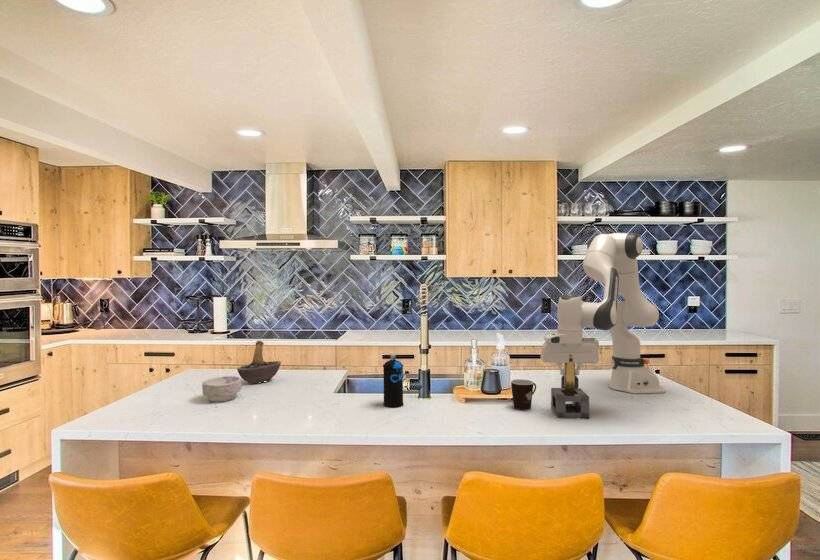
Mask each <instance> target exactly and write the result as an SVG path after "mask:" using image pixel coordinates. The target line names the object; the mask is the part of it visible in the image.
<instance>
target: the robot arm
mask: <svg viewBox="0 0 820 560" xmlns="http://www.w3.org/2000/svg"><path fill="white" fill-rule="evenodd" d="M586 249H587V251H586V253H585V255H584V258H583V261H582V269H583V271H584V273H585V274H586V275H587V276H588V277H589V278H590V279H592V280H594V281H595V282H599V283H602V284H603V285H604V289H603V290H604V291H603V300H602V301H600V302H591V301H590V302H588V301H583V300H582V296H581V294H578V293H564V294H561V295H560V296H559V299H558V302H557V311H556V313H557V314H556V315H557V316H556V317H557V322H558V325H557V331H555V332H553V333H549V334H546V335H545V336H544V341H545V342H543V344H542V347H541V351H540V352H541V355H540V360H542V362H543V363H547V364H549V363H550V364H551V363H553V364H554V363H555V364H556V366H557V367H558V369H559V374H560V375H561V376H563V375H565V370H564V368H562V366H563V364H565V363H569V355H572V358H573V363H575V364H576V365H577V367H576V368H575V375H576V376H579V375H580V371H581V369H582V367H583V364H598V362H599V361H600V356H599V347H600V346H599V345H600V343H599V342H600V341H598V339H596V338H595V337H583V328H585V329H586V328H588V329H596V330H601V331H604V332H605V331H608V332H609V333H610V337H611V340H612V342H611V343H612V355H611V369H612V370H611V375H610V380H609V384H608V387H609V388H610V389H612V390H616V391H620V392H626V393H629V394H660V393H663V394H664V393H666V388H665V387H664V386H663V385H660V380H659V377H658V376H657V375H656V373H654V372H653V371H652V370H650V369H649V368H648V367H647V366H645V365H648V364H649V363H650V362H649V360H648V359H646V358H642V357H641V341H640V339H639V338H638V336H636V335H634V334H632V332H630V330H629V329H628V327H634V328H636V327H637V328H647V327H648V328H650V327H653V326H655V325H656V324H657V323H658V322H659V319H660V314H659V313H660V312H659V309H658V307H656V306H655V305H654V304H653V303H652V302H650V301H649V300H648V299H647V298H646V296H645V295H644V294H643V292H642V290H641V285H640V279H639V265H638V257H639V256H640V255H642V253H643V249H644V241H643V237H642V236H641V235H640V234H639V233H637V232H636V233H635V232H613V233H600V234H596V235H593V236H592V237H590V238H589V240H588V241H587V248H586ZM618 295H620V297H622V298H623V300H624V301H623V300H621V301H620V300H618V299H619V296H618Z"/></svg>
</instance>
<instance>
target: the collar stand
mask: <svg viewBox="0 0 820 560" xmlns="http://www.w3.org/2000/svg"><path fill="white" fill-rule="evenodd" d="M550 398H551V399H550V408H551V410H552V412H553V413H554V414H555V416H556V418H557V419H577V418H580V419H579V420H581V419H583V420H584V419H586V420H589V419H590V395H588V394H587V393H586V392H585V391H584V390H583V389H582V388H580V387H578V388H575V394H564V388H561V387H551V388H550ZM566 402H568V403H566Z"/></svg>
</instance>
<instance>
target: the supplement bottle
mask: <svg viewBox="0 0 820 560" xmlns="http://www.w3.org/2000/svg"><path fill="white" fill-rule="evenodd" d="M560 381H561V383H560V388H564V375H561V379H560ZM579 382H580V381H579V377H578V375H575V388H579Z"/></svg>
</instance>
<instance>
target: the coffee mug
mask: <svg viewBox="0 0 820 560" xmlns="http://www.w3.org/2000/svg"><path fill="white" fill-rule="evenodd" d="M510 386H511V393H512V403H513V408H514V409H515V410H520V411H529V410H531V408H532V400H533V395H534V394H535V392H536V389H537V384H536V383H535V382H534V381H532V380H529V379H524V378H523V379H521V378H519V379H512V380H511V381H510Z"/></svg>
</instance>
